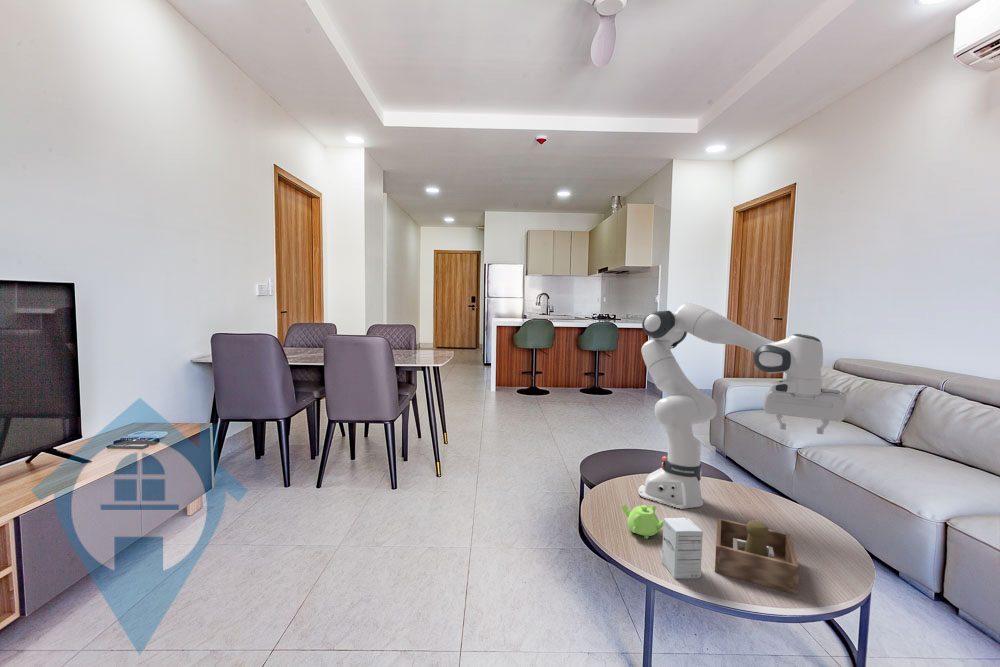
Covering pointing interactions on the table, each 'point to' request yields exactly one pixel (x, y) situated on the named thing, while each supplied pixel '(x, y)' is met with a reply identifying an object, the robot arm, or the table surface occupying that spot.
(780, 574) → the walled box
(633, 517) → the teapot
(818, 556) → the table surface
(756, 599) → the table surface
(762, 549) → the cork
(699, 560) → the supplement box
